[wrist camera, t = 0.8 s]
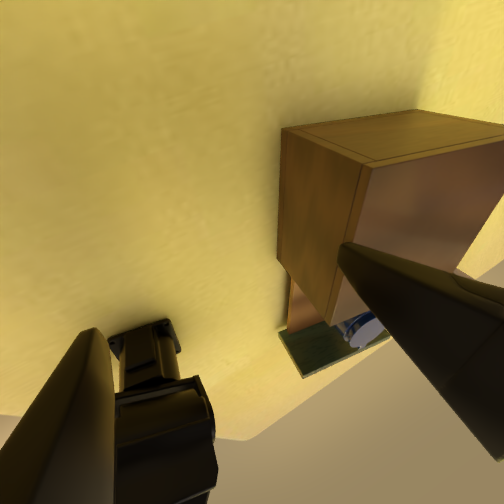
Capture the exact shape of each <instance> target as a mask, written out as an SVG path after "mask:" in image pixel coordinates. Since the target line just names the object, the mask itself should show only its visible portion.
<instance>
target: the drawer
mask: <svg viewBox="0 0 504 504" xmlns="http://www.w3.org/2000/svg"><path fill="white" fill-rule="evenodd" d="M278 336H279V338H280V340H281V342H282V343H283V345H284V347H285V349H286V350H287V352H288V354H289V356H290V358H291V359H292V361H293V363H294V365H295V366H296V368H297V370H298V372H299V373H300V375H301V377H302V379H304V378H306V377H308V376H311V375H313V374H315V373H317V372H319V371H321V370H323V369H325V368H328V367H330V366H332V365H334V364H336V363H338V362H340V361H343V360H345V359H347V358H349V357H351V356H353V355H355V354H358V353H360V352H362V351H364V350H366V349H368V348H370V347H373V346H375V345H377V344H379V343H381V342H383V341H385V340H387V339H389V338H390V336H391V335H390V334H389V333H388V332H387V331H386V329H384V330H383V331H382V332H381V333H380V334H379V335H378V336H377V337H376V338H374V339H373V340H372V341H370V342H368V343H367V344H366V346H365V347H364V348H362V349H360V350H358V347H351V346H350V345H349V343H348V341H345V340H344V339H343V337H342V336H341V335H340V334H339V332H338V331H337V330H336V329H335V327H334V326H331V327H330V326H329V325H328V324H327V323H326V321H325V320H324V319H323V318H322V316H321V315H320V314H319V312H318V311H317V310H316V308H315V307H314V306H313V305H312V303H311V302H310V301H309V299H308V298H307V297H306V296H305V294H304V293H303V292H302V290H301V289H300V288H299V287H298V285H297V284H296V283H295V281H294V280H293V279H292V278H291V287H290V298H289V309H288V320H287V329H285V330H282V331H280V332H278Z"/></svg>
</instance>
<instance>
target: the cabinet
mask: <svg viewBox="0 0 504 504" xmlns="http://www.w3.org/2000/svg"><path fill="white" fill-rule="evenodd" d="M503 194H504V125H503V124H497V123H491V122H486V121H480V120H474V119H469V118H463V117H457V116H452V115H446V114H440V113H435V112H429V111H424V110H418V109H415V110H408V111H401V112H394V113H387V114H380V115H373V116H365V117H358V118H351V119H344V120H337V121H330V122H323V123H315V124H308V125H301V126H294V127H287V128H282V134H281V160H280V186H279V213H278V239H277V260H278V261H279V262H280V263H281V265H282V266H283V267H284V268H285V270H286V271H287V272H288V274H289V275H290V276H291V278H292V279H293V280H294V281H295V283H296V284H297V285H298V287H299V288H300V289H301V290H302V292H303V293H304V294H305V296H306V297H307V298H308V299H309V301H310V302H311V303H312V305H313V306H314V307H315V308H316V310H317V311H318V312H319V314H320V315H321V316H322V318H323V319H324V320H325V321H326V323H327V324H328V325H329V326H330V327H331V326H333V325H336V324H338V323H340V322H343V321H345V320H348V319H350V318H352V317H355V316H357V315H360V314H362V313H364V312H367V311H369V310H370V309H369V308H368V307H367V306H366V305H365V303H364V302H363V301H362V300H361V299H360V297H359V296H358V295H357V293H356V292H355V291H354V289H353V288H352V286H351V285H350V283H349V282H348V280H347V279H346V277H345V276H344V274H343V273H342V271H341V270H340V268H339V267H338V265H337V263H336V257H337V252H338V247H339V245H340V244H342V243H345V242H353V243H356V244H359V245H363V246H366V247H369V248H372V249H375V250H379V251H382V252H385V253H388V254H391V255H395V256H398V257H401V258H404V259H408V260H411V261H414V262H417V263H420V264H424V265H427V266H430V267H433V268H436V269H440V270H443V271H446V272H448V273H453V272H454V270H455V269H456V267H457V266H458V264H459V263H460V261H461V259H462V258H463V256H464V255H465V253H466V252H467V250H468V249H469V247H470V245H471V244H472V242H473V241H474V239H475V238H476V236H477V235H478V233H479V232H480V230H481V228H482V227H483V225H484V224H485V222H486V221H487V219H488V218H489V216H490V214H491V213H492V211H493V210H494V208H495V207H496V205H497V204H498V202H499V201H500V199H501V197H502V196H503Z"/></svg>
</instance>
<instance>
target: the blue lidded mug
mask: <svg viewBox="0 0 504 504" xmlns="http://www.w3.org/2000/svg"><path fill="white" fill-rule="evenodd" d="M333 326H334V327H335V329H336V330H337V331H338V332H339V334H340V335H341V336H342V337H343V339H344V340H345V341H348V343H349V345H350V346H351V347H358V350H360V349H362V348H364V347H365V346H366V344H367V343H368V342H370V341H372V340H373V339H374V338H376V337H377V336H378V335H379V334H380V333H381V332H382V331H383V330H384V329H385V327H384V326H383V325H382V324H381V323H380V321H379V320H378V319H377V318H376V317H375V315H374V314H373V313H372V312H371V311H370V310H369V311H367V312H364V313H362V314H360V315H357V316H355V317H352V318H350V319H348V320H345V321H343V322H340V323H338V324H336V325H333Z"/></svg>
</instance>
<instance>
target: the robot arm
mask: <svg viewBox="0 0 504 504" xmlns="http://www.w3.org/2000/svg"><path fill="white" fill-rule="evenodd" d="M336 263H337V265H338V267H339V268H340V270H341V271H342V273H343V274H344V276H345V277H346V279H347V280H348V282H349V283H350V285H351V286H352V288H353V289H354V291H355V292H356V293H357V295H358V296H359V297H360V299H361V300H362V301H363V302H364V303H365V305H366V306H367V307H368V308H369V309H370V311H371V312H372V313H373V314H374V315H375V317H376V318H377V319H378V320H379V321H380V323H381V324H382V325H383V326H384V327H385V329H386V330H387V331H388V332H389V333H390V335H391V336H392V337H393V338H394V339H395V341H396V342H397V343H398V344H399V345H400V346H401V348H402V349H403V350H404V351H405V353H406V354H407V355H408V356H409V357H410V358H411V360H412V361H413V362H414V363H415V365H416V366H417V367H418V368H419V369H420V371H421V372H422V373H423V374H424V375H425V377H426V378H427V379H428V380H429V381H430V383H431V384H432V385H433V386H434V387H435V389H436V390H437V391H438V392H439V394H440V395H441V396H442V397H443V398H444V400H445V401H446V402H447V403H448V404H449V406H450V407H451V408H452V409H453V411H455V413H456V414H457V415H458V417H459V418H460V419H461V420H462V421H463V422H464V424H465V425H466V426H467V427H468V429H469V430H470V431H471V432H472V433H473V435H474V436H475V437H476V438H477V439H478V441H479V442H480V443H481V444H482V445H483V447H484V448H485V449H486V450H487V451H488V453H489V454H490V455H491V456H492V457H493V458H494V459H495V460H496V461H497V462H498V463H500V462H502V461H504V288H501V287H497V286H494V285H490V284H486V283H483V282H479V281H476V280H472V279H469V278H465V277H462V276H459V275H456V274H453V273H448V272H446V271H443V270H440V269H436V268H433V267H430V266H427V265H424V264H420V263H417V262H414V261H411V260H408V259H404V258H401V257H398V256H395V255H391V254H388V253H385V252H382V251H379V250H375V249H372V248H369V247H366V246H363V245H359V244H356V243H353V242H345V243H342V244H340V245H339V247H338V252H337V257H336ZM110 349H111V351H112V352H113V354H114V355H115V356H116V358H117V359H118V360H119V392H118V393H114V382H113V374H112V365H111V356H110ZM180 352H181V347H180V344H179V342H178V339H177V336H176V334H175V331H174V329H173V326H172V324H171V321H170V320H169V319H164V320H161V321H158V322H155V323H152V324H149V325H146V326H143V327H140V328H137V329H134V330H131V331H128V332H125V333H122V334H119V335H116V336H113V337H110V338H108V339H107V340H106V339H105V338H104V336H103V335H102V334H101V332H100V331H99V330H98V329H97V328H95V327H93V328H90V329H87V330H84V331H82V332H80V333H79V334H78V336H77V337H76V339H75V340H74V342H73V343H72V345H71V346H70V348H69V349H68V351H67V352H66V353H65V355H64V356H63V358H62V359H61V361H60V362H59V364H58V365H57V367H56V368H55V370H54V371H53V373H52V374H51V376H50V377H49V379H48V380H47V382H46V383H45V385H44V386H43V388H42V389H41V391H40V392H39V394H38V395H37V396H36V398H35V399H34V401H33V402H32V404H31V405H30V407H29V408H28V410H27V411H26V413H25V414H24V416H23V417H22V419H21V420H20V422H19V423H18V425H17V426H16V428H15V429H14V431H13V432H12V434H11V435H10V437H9V438H8V440H7V441H6V442H5V444H4V446H3V447H2V448H1V450H0V504H207V501H208V497H209V493H210V490H212V489H214V488H215V486H216V482H217V475H218V464H217V460H216V455H215V451H214V446H213V443H214V441H215V432H216V430H215V418H214V413H213V409H212V406H211V403H210V401H209V399H208V396H207V394H206V392H205V389H204V387H203V385H202V382H201V380H200V377H199V375H195V376H193V377H190V378H185V379H180V373H179V368H178V363H177V357H176V354H178V353H180Z"/></svg>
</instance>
